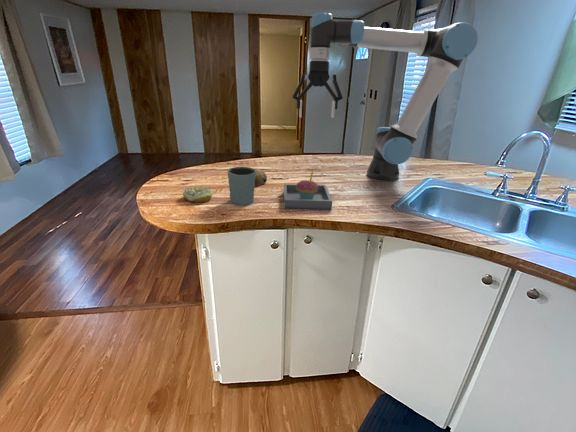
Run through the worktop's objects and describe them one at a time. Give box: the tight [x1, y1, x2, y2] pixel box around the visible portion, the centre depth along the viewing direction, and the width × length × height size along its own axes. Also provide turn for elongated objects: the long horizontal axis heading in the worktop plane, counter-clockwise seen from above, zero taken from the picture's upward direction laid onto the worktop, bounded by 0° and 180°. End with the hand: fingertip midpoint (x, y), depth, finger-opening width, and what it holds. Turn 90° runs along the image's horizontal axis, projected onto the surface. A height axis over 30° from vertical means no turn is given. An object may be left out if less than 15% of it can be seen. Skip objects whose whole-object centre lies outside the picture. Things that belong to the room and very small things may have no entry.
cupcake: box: [296, 169, 319, 200], centre depth 115 cm, size 9×8×12 cm
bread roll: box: [254, 168, 268, 187], centre depth 135 cm, size 10×10×8 cm
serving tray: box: [283, 183, 333, 211], centre depth 117 cm, size 17×17×4 cm
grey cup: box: [227, 166, 256, 207], centre depth 113 cm, size 10×10×12 cm
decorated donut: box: [182, 185, 213, 204], centre depth 116 cm, size 10×11×4 cm
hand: (316, 117), depth 129 cm, fingers open, 13 cm apart
